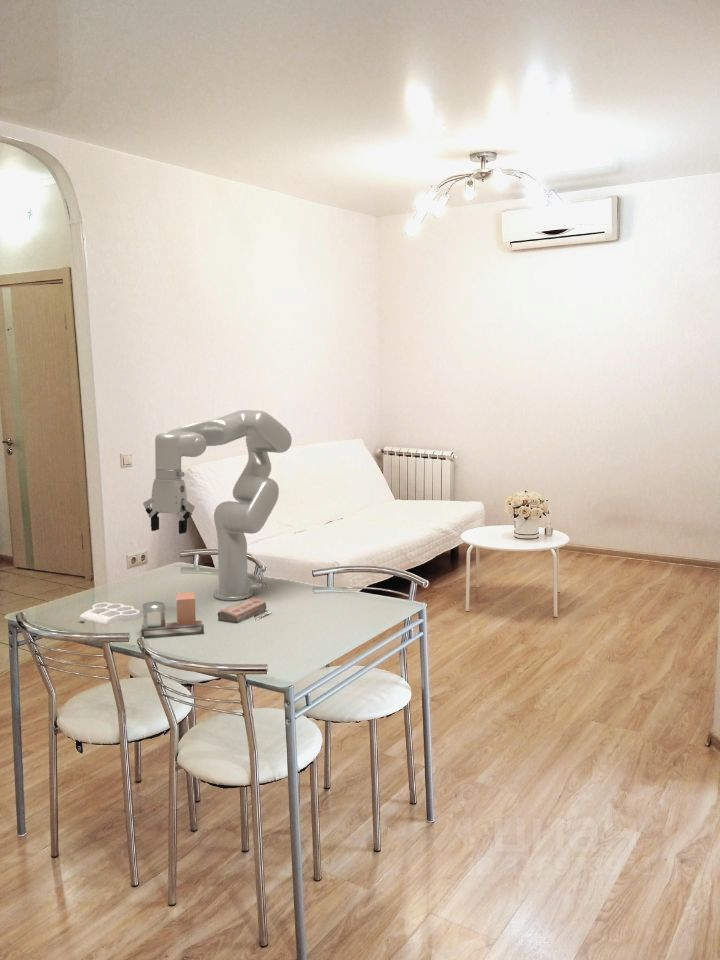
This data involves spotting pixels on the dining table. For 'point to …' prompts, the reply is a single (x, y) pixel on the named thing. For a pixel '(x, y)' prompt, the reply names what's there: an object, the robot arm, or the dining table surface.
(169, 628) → the shelf board
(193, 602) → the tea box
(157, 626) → the tin
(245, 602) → the packaged product
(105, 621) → the knuckle duster
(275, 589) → the dining table surface
